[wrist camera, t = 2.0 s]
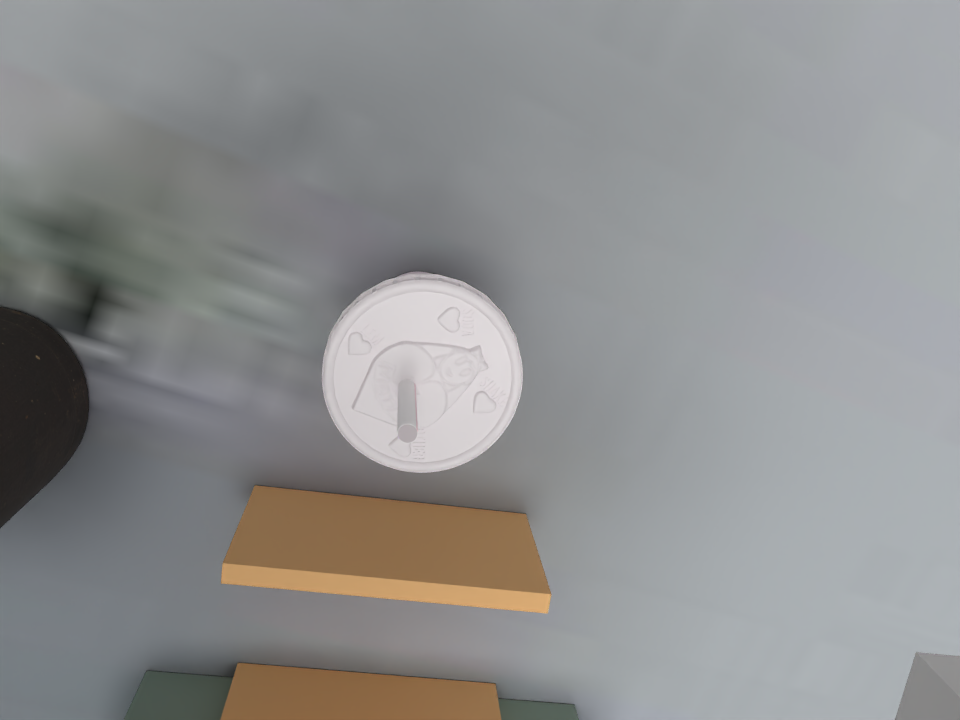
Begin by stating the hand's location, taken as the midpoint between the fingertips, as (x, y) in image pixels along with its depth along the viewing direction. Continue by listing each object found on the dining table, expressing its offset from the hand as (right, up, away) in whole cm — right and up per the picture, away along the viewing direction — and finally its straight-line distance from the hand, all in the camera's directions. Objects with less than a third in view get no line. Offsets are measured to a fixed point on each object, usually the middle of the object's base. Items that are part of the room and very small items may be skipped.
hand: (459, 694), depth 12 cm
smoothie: (-2, +7, +25) cm, 26 cm away
